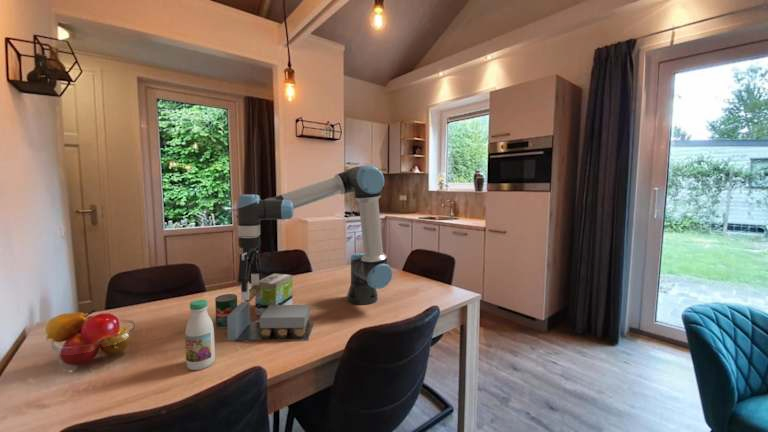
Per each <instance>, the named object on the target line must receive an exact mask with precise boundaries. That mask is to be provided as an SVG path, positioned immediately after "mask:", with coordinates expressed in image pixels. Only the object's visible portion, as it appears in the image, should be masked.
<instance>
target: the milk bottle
mask: <svg viewBox="0 0 768 432" xmlns="http://www.w3.org/2000/svg"><path fill="white" fill-rule="evenodd" d="M189 308H190V309H189V310H190V316H189V319H188V321H187V323H186V326H185V335H184V336H185V361H186V362H185V363H186V368H187V369H188V370H189V371H200V370H204V369H207V368H209V367H210V366H212V365H213V364H214V362H215V361H216V354H215V353H216V351H215V350H216V349H215V347H216V344H215V330H214V323H213V320H212V318H211V317H210V315H209V313H208V300H206V299H197V300H193V301H191V302H190V303H189Z"/></svg>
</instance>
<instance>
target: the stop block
mask: <svg viewBox="0 0 768 432" xmlns="http://www.w3.org/2000/svg"><path fill="white" fill-rule="evenodd" d="M250 302H251V301H249V302H246V301H241V302H240V303H239V304H237V307H236V308H235V309H234V310H233V311H232V312H231V313H230V314H229V315H228V316H227V328H226V329H227V341H229V342H231V341H234V340H235V339H237V338H238V337H239V336H240V334H241V333H242V332H243V331H244V330H245V328H246V327H247V326H248V325H249V323H250V322H251V309H250V308H251V307H250Z"/></svg>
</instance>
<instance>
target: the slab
mask: <svg viewBox="0 0 768 432" xmlns="http://www.w3.org/2000/svg"><path fill="white" fill-rule="evenodd" d="M309 317H311V305H310V304H292V305H269V306H268V308H267V309H266V310H265V311H264V313H263V314H262V315H261V316H260V317H259V322H260V328H305V326H306V323H307V321H308V318H309Z"/></svg>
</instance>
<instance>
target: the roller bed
mask: <svg viewBox="0 0 768 432" xmlns="http://www.w3.org/2000/svg"><path fill="white" fill-rule="evenodd" d="M310 320H311V316H309V318H308V321H307V323H306V326H305V328H260V321H250V323H249V325H248V326H247V327H246V328H245V330H244V331H243V332H242V333H241V334H240V336H239V337H238V338H237V339H235V340H233V341H234V342H258V341H259V342H264V341H266V342H270V341H273V342H274V341H276V342H277V341H309V339H310V336H311V333H312V329H313V328H314V325H315V321H310Z"/></svg>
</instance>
